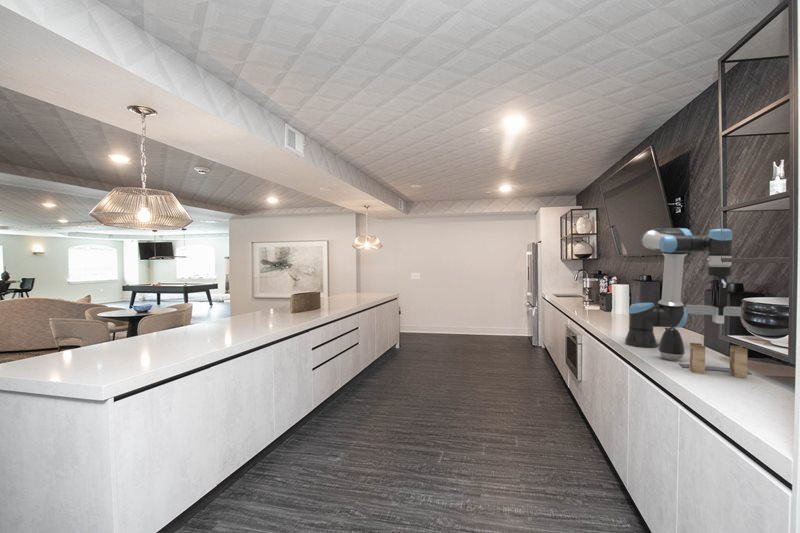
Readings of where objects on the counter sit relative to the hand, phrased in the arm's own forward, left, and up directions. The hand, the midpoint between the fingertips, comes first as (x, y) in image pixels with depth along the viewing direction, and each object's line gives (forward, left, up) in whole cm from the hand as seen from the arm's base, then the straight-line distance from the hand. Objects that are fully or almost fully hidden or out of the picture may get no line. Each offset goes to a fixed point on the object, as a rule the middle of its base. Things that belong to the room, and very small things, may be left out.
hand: (718, 322), depth 168 cm
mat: (-8, +1, -21) cm, 23 cm away
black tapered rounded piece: (-21, -12, -22) cm, 32 cm away
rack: (0, 0, -21) cm, 21 cm away
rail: (0, 0, +3) cm, 3 cm away
